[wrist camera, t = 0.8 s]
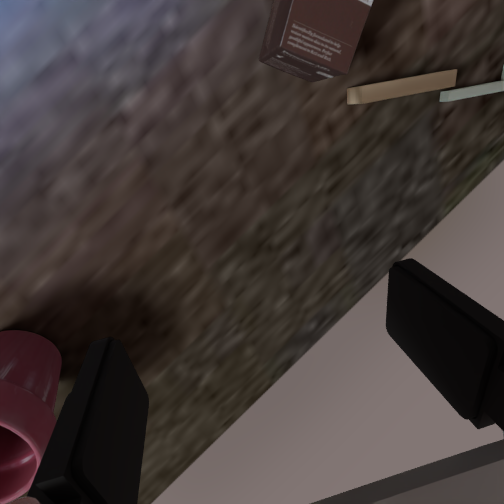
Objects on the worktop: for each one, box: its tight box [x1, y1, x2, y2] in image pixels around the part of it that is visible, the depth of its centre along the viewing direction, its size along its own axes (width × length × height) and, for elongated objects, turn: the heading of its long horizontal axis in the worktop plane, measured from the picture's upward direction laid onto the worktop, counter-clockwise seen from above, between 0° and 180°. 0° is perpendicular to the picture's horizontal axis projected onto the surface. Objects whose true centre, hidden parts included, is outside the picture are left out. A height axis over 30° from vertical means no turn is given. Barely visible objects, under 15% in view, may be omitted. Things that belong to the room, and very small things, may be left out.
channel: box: [347, 69, 457, 104], centre depth 28 cm, size 13×10×3 cm
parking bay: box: [440, 66, 504, 102], centre depth 30 cm, size 16×8×1 cm, turn 9°
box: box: [259, 0, 373, 82], centre depth 25 cm, size 6×6×7 cm
